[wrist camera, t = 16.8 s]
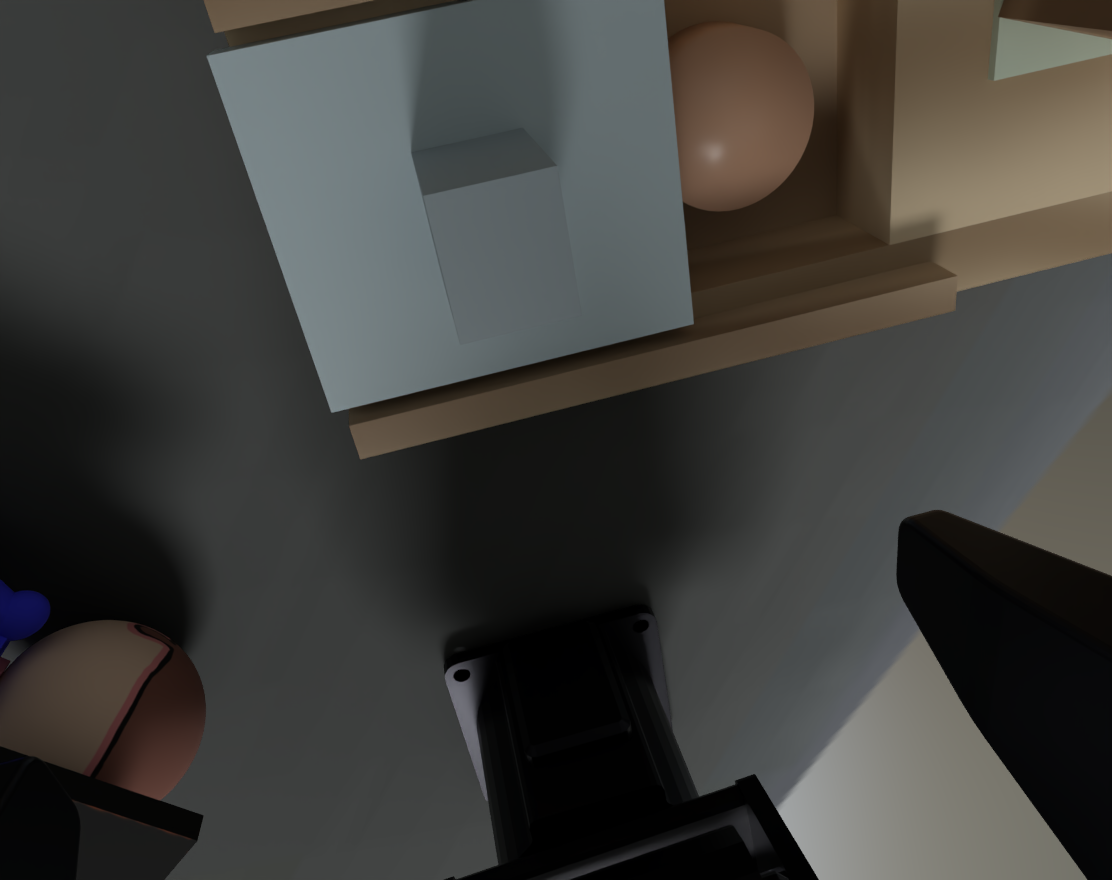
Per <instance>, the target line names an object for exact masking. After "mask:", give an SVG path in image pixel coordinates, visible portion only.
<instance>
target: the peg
mask: <svg viewBox="0 0 1112 880" xmlns="http://www.w3.org/2000/svg"><path fill="white" fill-rule="evenodd" d="M998 17H1000V18H1006V19H1011V20H1016V21H1021V22H1026V23H1031V24H1036V25H1041V26H1046V27H1051V28H1057V29H1062V30H1067V31H1072V32H1077V33H1082V34H1087V35H1092V36H1097V37H1102V38H1108V39H1112V0H1004V1H1003V4H1002V7H1001V9H1000V12H999V15H998Z"/></svg>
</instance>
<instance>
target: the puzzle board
mask: <svg viewBox="0 0 1112 880" xmlns="http://www.w3.org/2000/svg"><path fill="white" fill-rule="evenodd" d="M450 1H455V0H204V3H205V6H206V9H207V11H208V14H209V17H210V20H211V23H212V26H213V29H214V32H215V33H217V32H222V31H224V32H225V35H226V38H227V41H228V44H229V47H232V46H237V45H242V44H247V43H252V42H256V41H261V40H266V39H271V38H276V37H281V36H285V35H290V34H295V33H300V32H305V31H310V30H315V29H319V28H324V27H329V26H334V25H339V24H344V23H348V22H353V21H358V20H363V19H368V18H373V17H378V16H382V15H387V14H392V13H397V12H402V11H407V10H411V9H416V8H421V7H426V6H431V5H436V4H441V3H445V2H450ZM1003 1H1004V0H664V6H665V17H666V28H667V39H668V38H669V37H671V36H672V35H674V34H675V33H677V32H678V31H681V30H683V29H685V28H687V27H689V26H692V25H695V24H698V23H703V22H709V21H724V22H731V23H736V24H740V25H744V26H749V27H753V28H757V29H761V30H764V31H767V32H770V33H772V34H774V35H776V36H778V37H779V38H781V39H782V40H783V41H785V42H786V43H787V44H789V45H790V46H791V47H792V48H793V49H794V50H795V52H796V53H797V54H798V56H799V57H800V58H801V60H802V62H803V63H804V65H805V67H806V69H807V72H808V74H809V77H810V80H811V84H812V88H813V95H814V118H813V125H812V130H811V134H810V137H809V140H808V143H807V146H806V148H805V151H804V153H803V155H802V157H801V159H800V160H799V162H798V164H797V165H796V167H795V168H794V170H793V171H792V172H791V174H790V175H789V176H788V177H787V179H786V180H785V181H784V182H783V183H782V184H781V185H780V186H779V187H778V188H777V189H775V190H774V191H773V192H771V193H770V194H769V195H768V196H766V197H764V198H763V199H761V200H760V201H758V202H756V203H753V204H751V205H749V206H746V207H743V208H740V209H736V210H731V211H719V212H717V211H707V210H703V209H698V208H696V207H693V206H690V205H688V204H686V203H685V202H683V212H684V223H685V233H686V244H687V255H688V266H689V277H690V287H691V298H692V309H693V320H694V324H692V325H688V326H684V327H680V328H676V329H672V330H668V331H663V332H659V333H655V334H651V335H647V336H643V337H639V338H635V339H631V340H627V341H623V342H619V343H614V344H610V345H606V346H602V347H598V348H594V349H590V350H586V351H582V352H578V353H574V354H570V355H566V356H561V357H557V358H553V359H549V360H545V361H541V362H537V363H533V364H529V365H525V366H521V367H517V368H513V369H508V370H504V371H500V372H496V373H492V374H488V375H484V376H480V377H476V378H472V379H468V380H464V381H460V382H455V383H451V384H447V385H443V386H439V387H435V388H431V389H427V390H423V391H419V392H415V393H411V394H406V395H402V396H398V397H394V398H390V399H386V400H382V401H378V402H374V403H370V404H366V405H362V406H358V407H353V408H349V428H350V431H351V433H352V436H353V439H354V442H355V445H356V448H357V451H358V454H359V457H360V460H361V459H365V458H369V457H373V456H377V455H381V454H385V453H389V452H393V451H397V450H401V449H405V448H409V447H413V446H417V445H421V444H425V443H429V442H432V441H436V440H440V439H444V438H448V437H452V436H456V435H460V434H464V433H468V432H472V431H476V430H480V429H484V428H488V427H492V426H496V425H500V424H504V423H508V422H512V421H516V420H520V419H524V418H528V417H532V416H536V415H540V414H544V413H548V412H552V411H556V410H560V409H564V408H568V407H572V406H576V405H580V404H584V403H588V402H592V401H596V400H600V399H604V398H608V397H612V396H616V395H620V394H624V393H628V392H632V391H636V390H640V389H644V388H648V387H652V386H656V385H660V384H664V383H668V382H672V381H676V380H680V379H684V378H688V377H692V376H696V375H700V374H704V373H708V372H712V371H716V370H720V369H724V368H728V367H732V366H736V365H740V364H744V363H748V362H752V361H756V360H760V359H764V358H768V357H772V356H776V355H780V354H784V353H788V352H792V351H796V350H800V349H804V348H808V347H812V346H816V345H820V344H824V343H828V342H832V341H836V340H840V339H844V338H847V337H851V336H855V335H859V334H863V333H867V332H871V331H875V330H879V329H883V328H887V327H891V326H895V325H899V324H903V323H907V322H911V321H915V320H919V319H923V318H927V317H931V316H935V315H939V314H943V313H947V312H951V311H955V305H956V293H957V291H961V290H965V289H969V288H973V287H977V286H981V285H985V284H989V283H993V282H997V281H1001V280H1005V279H1009V278H1013V277H1017V276H1021V275H1025V274H1029V273H1033V272H1037V271H1041V270H1045V269H1049V268H1054V267H1058V266H1062V265H1066V264H1070V263H1074V262H1078V261H1082V260H1086V259H1090V258H1094V257H1098V256H1102V255H1106V254H1110V253H1112V39H1108V38H1102V37H1097V36H1092V35H1087V34H1082V33H1077V32H1072V31H1067V30H1062V29H1057V28H1051V27H1046V26H1041V25H1036V24H1031V23H1026V22H1021V21H1016V20H1011V19H1006V18H1000V17H998V15H999V12H1000V9H1001V7H1002V4H1003Z"/></svg>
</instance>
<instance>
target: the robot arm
mask: <svg viewBox="0 0 1112 880" xmlns="http://www.w3.org/2000/svg"><path fill="white" fill-rule="evenodd" d="M896 576H897V585H898V588H899V592H900V594H901V597H902V599H903V601H904V602H905V604H906V606H907V608H908V609H909V611H910V613H911V615H912V616H913V618H914V620H915V622H916V623H917V625H918V627H919V629H920V630H921V632H922V634H923V636H924V637H925V639H926V641H927V642H928V644H929V646H930V648H931V650H932V651H933V653H934V655H935V657H936V658H937V660H938V662H939V664H940V665H941V667H942V669H943V670H944V672H945V674H946V676H947V678H948V679H949V681H950V683H951V685H952V686H953V688H954V690H955V692H956V693H957V695H958V697H959V699H960V700H961V702H962V704H963V705H964V707H965V708H966V710H967V712H968V713H969V715H970V717H971V718H972V720H973V721H974V723H975V724H976V726H977V727H978V729H979V730H980V731H981V733H982V734H983V736H984V737H985V739H986V740H987V742H988V743H989V744H990V746H991V747H992V749H993V750H994V751H995V753H996V754H997V755H998V757H999V758H1000V760H1001V761H1002V762H1003V764H1004V765H1005V766H1006V768H1007V769H1008V770H1009V772H1010V773H1011V775H1012V776H1013V778H1014V779H1015V780H1016V782H1017V783H1018V784H1019V786H1020V787H1021V788H1022V790H1023V791H1024V793H1025V794H1026V795H1027V797H1028V798H1029V800H1030V801H1031V802H1032V804H1033V805H1034V807H1035V808H1036V809H1037V811H1038V812H1039V813H1040V815H1041V816H1042V818H1043V819H1044V820H1045V822H1046V823H1047V824H1048V825H1049V827H1050V829H1051V830H1052V831H1053V833H1054V834H1055V835H1056V837H1057V838H1058V839H1059V841H1060V842H1061V844H1062V845H1063V846H1064V848H1065V849H1066V851H1067V852H1068V853H1069V855H1070V856H1071V858H1072V859H1073V860H1074V862H1075V863H1076V864H1077V866H1078V867H1079V869H1080V870H1081V871H1082V873H1083V874H1084V875H1085V877H1086V878H1087V880H1112V576H1111V575H1108V574H1106V573H1103V572H1100V571H1098V570H1095V569H1093V568H1090V567H1087V566H1085V565H1082V564H1080V563H1077V562H1075V561H1072V560H1069V559H1067V558H1064V557H1062V556H1059V555H1057V554H1054V553H1051V552H1049V551H1046V550H1044V549H1041V548H1038V547H1036V546H1033V545H1031V544H1028V543H1026V542H1023V541H1021V540H1018V539H1015V538H1013V537H1010V536H1008V535H1005V534H1003V533H1000V532H998V531H995V530H992V529H990V528H987V527H985V526H982V525H980V524H977V523H974V522H972V521H969V520H967V519H964V518H962V517H959V516H956V515H954V514H951V513H949V512H946V511H942V510H932V511H929V512H925V513H921V514H918V515H914V516H910V517H907V518H905V519H904V520H903V521H902V522H901V524H900V526H899V532H898V552H897V573H896ZM639 620H643V621H642V622H641V623H638V624H635V622H637V621H639ZM459 669H466V670H465V671H463V672H456V671H457V670H459ZM444 673H445V680H446V683H447V686H448V689H449V692H450V695H451V698H452V701H453V704H454V707H455V710H456V713H457V716H458V719H459V723H460V726H461V729H462V732H463V735H464V738H465V741H466V744H467V747H468V750H469V753H470V756H471V759H472V762H473V765H474V768H475V771H476V774H477V777H478V780H479V783H480V786H481V789H482V792H483V795H484V797H485V799H486V800H487V801H488V802H489V809H490V815H491V821H492V827H493V834H494V840H495V846H496V852H497V858H498V865H497V866H494V867H491V868H488V869H486V870H483V871H480V872H477V873H474V874H471V875H468V876H465V877H462V878H459V879H455V877H454V876H453V877H450V878H448V879H445V880H819V879H818V878H817V876H816V874H815V873H814V871H813V869H812V868H811V866H810V864H809V863H808V861H807V859H806V858H805V856H804V854H803V853H802V851H801V849H800V848H799V846H798V844H797V843H796V841H795V840H794V838H793V836H792V835H791V833H790V831H789V830H788V828H787V826H786V825H785V823H784V822H783V820H782V818H781V816H780V815H779V813H778V811H777V810H776V808H775V806H774V805H773V803H772V801H771V800H770V798H769V796H768V795H767V793H766V791H765V790H764V788H763V787H762V785H761V783H760V782H759V780H758V778H757V777H756V775H755V774H753V775H750V776H747V777H744V778H742V779H739V780H736V781H735V785H732V786H729V787H726V788H724V789H721V790H718V791H715V792H712V793H709V794H706V795H703V796H700V797H699V795H698V793H697V790H696V788H695V785H694V783H693V780H692V778H691V775H690V773H689V771H688V768H687V766H686V763H685V761H684V758H683V756H682V753H681V751H680V748H679V746H678V743H677V741H676V739H675V736H674V734H673V730H672V723H671V716H670V709H669V702H668V695H667V688H666V681H665V674H664V668H663V661H662V654H661V647H660V640H659V633H658V626H657V621H656V619H655V616H654V614H653V612H652V610H651V608H649V607H648V606H646V605H642V604H641V605H634V606H631V607H627V608H623V609H620V610H616V611H612V612H609V613H605V614H601V615H598V616H594V617H590V618H587V619H583V620H579V621H576V622H572V623H568V624H565V625H561V626H557V627H554V628H550V629H546V630H543V631H539V632H535V633H532V634H528V635H524V636H521V637H517V638H513V639H510V640H506V641H502V642H499V643H495V644H491V645H488V646H484V647H480V648H477V649H473V650H469V651H466V652H462V653H458V654H455V655H453V656H451V657H450V658H449V659H447V660H446V662H445V664H444ZM80 831H81V825H80V817H79V813H78V810H77V807H76V805H75V804H74V802H73V801H72V799H71V798H70V796H69V795H68V794H67V792H66V791H65V790H64V788H63V787H62V786H61V784H60V783H59V781H58V780H57V779H56V777H55V776H54V775H53V773H52V772H51V770H50V769H49V768H48V766H47V765H46V764H45V763H44V761H43V760H41V759H39V758H38V757H35V756H26V757H23V758H19V759H15V760H12V761H8V762H4V763H1V764H0V880H76V876H77V865H78V854H79V843H80Z"/></svg>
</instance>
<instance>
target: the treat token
mask: <svg viewBox="0 0 1112 880" xmlns="http://www.w3.org/2000/svg"><path fill="white" fill-rule="evenodd" d="M668 49H669V60H670V71H671V82H672V93H673V104H674V114H675V125H676V136H677V147H678V158H679V168H680V179H681V190H682V201H683V202H685V203H686V204H688V205H690V206H693V207H696V208H698V209H703V210H707V211H717V212H719V211H731V210H736V209H740V208H743V207H746V206H749V205H751V204H753V203H756V202H758V201H760V200H761V199H763V198H764V197H766V196H768V195H769V194H770V193H771V192H773V191H774V190H775V189H777V188H778V187H779V186H780V185H781V184H782V183H783V182H784V181H785V180H786V179H787V177H788V176H789V175H790V174H791V172H792V171H793V170H794V168H795V167H796V165H797V164H798V162H799V160H800V159H801V157H802V155H803V153H804V151H805V148H806V146H807V143H808V140H809V137H810V134H811V130H812V125H813V118H814V95H813V88H812V84H811V80H810V77H809V74H808V72H807V69H806V67H805V65H804V63H803V62H802V60H801V58H800V57H799V56H798V54H797V53H796V52H795V50H794V49H793V48H792V47H791V46H790V45H789V44H787V43H786V42H785V41H783V40H782V39H781V38H779V37H778V36H776V35H774V34H772V33H770V32H767V31H764V30H761V29H757V28H753V27H749V26H744V25H740V24H736V23H731V22H724V21H709V22H703V23H698V24H695V25H692V26H689V27H687V28H685V29H683V30H681V31H678V32H677V33H675V34H674V35H672V36H671V37H669V38H668Z"/></svg>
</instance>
